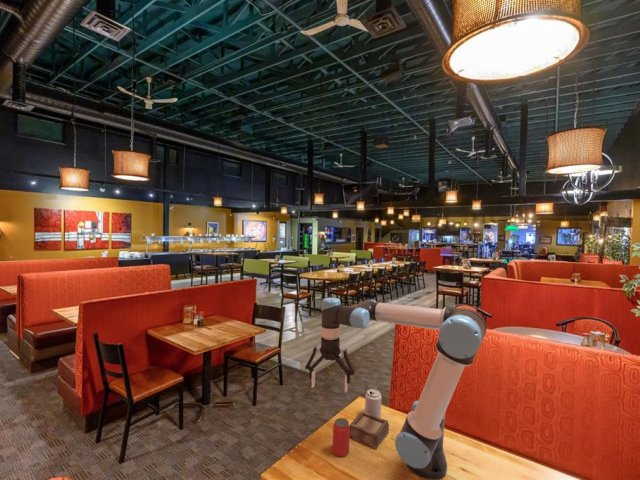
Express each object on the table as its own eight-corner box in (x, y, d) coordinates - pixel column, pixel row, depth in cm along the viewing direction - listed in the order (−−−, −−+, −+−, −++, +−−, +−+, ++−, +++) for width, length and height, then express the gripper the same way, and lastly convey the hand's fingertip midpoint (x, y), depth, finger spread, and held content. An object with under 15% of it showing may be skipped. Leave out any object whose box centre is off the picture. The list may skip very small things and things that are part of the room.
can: (364, 411, 154) (365, 387, 154) (380, 413, 153) (381, 388, 153) (364, 420, 147) (365, 395, 146) (381, 422, 146) (382, 397, 145)
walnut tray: (388, 432, 139) (389, 420, 138) (376, 449, 128) (377, 436, 128) (361, 421, 146) (362, 410, 146) (348, 436, 135) (348, 424, 135)
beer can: (347, 458, 122) (349, 428, 121) (330, 455, 123) (332, 425, 123) (349, 447, 128) (350, 418, 128) (333, 444, 130) (334, 416, 129)
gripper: (362, 336, 129) (361, 388, 129) (303, 331, 135) (302, 380, 135) (360, 342, 121) (359, 397, 122) (298, 336, 127) (297, 388, 128)
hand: (329, 388), depth 129 cm, fingers open, 13 cm apart
